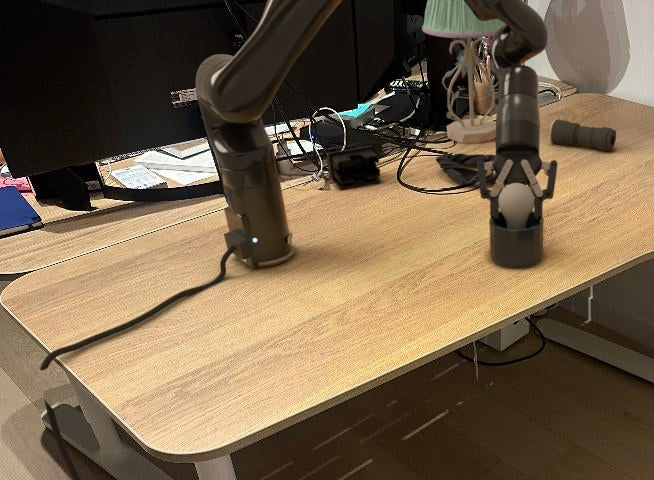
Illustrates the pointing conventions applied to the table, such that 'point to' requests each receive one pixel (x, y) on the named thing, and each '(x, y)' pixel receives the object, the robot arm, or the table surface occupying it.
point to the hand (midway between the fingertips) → (516, 220)
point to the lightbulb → (516, 205)
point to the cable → (462, 174)
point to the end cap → (354, 167)
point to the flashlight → (582, 135)
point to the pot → (516, 243)
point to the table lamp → (463, 62)
